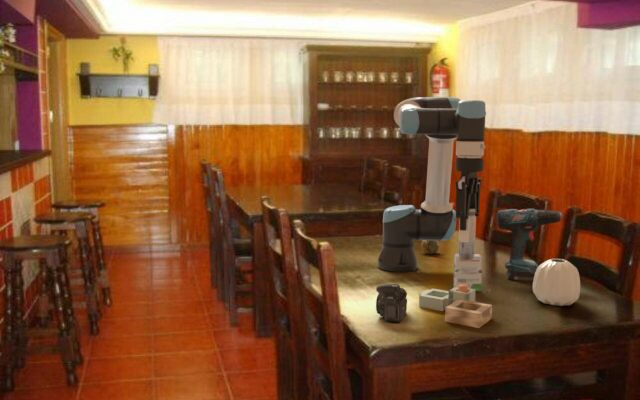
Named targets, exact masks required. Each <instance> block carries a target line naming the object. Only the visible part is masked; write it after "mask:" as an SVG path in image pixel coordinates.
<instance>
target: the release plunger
mask: <svg viewBox="0 0 640 400" xmlns="http://www.w3.org/2000/svg"><path fill="white" fill-rule="evenodd" d="M458 291H460V292H466V293H467V292H468V285H464V284H460V285H458Z"/></svg>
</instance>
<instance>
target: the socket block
mask: <svg viewBox="0 0 640 400" xmlns="http://www.w3.org/2000/svg"><path fill="white" fill-rule="evenodd" d="M476 292H477V291H476V289H470V288H468V292H467V293H466V292H460V291H458V286H456V287H453V288H451V289H449V290H443V289H437V288H431V289H425V290H424V291H421V292H420V293H418V296H419V297H418V298H419V299H418V306H419V308H422V309H423V308H424V309H428V310H429V309H430V310H434V311H441V312H443V311H444V312H445V307H447V306H449V305H450V304H452V303H453V302H455V301H457V300H458V299H461V300H467V301H472V302H476Z"/></svg>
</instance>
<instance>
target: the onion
mask: <svg viewBox="0 0 640 400" xmlns="http://www.w3.org/2000/svg"><path fill="white" fill-rule="evenodd" d="M420 247H421V249H422V251H423V252H424V253H426V254H430V255H434V254H436V253H437V252H439V250H440V244H439V241H430V240H421V245H420Z"/></svg>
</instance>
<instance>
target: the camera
mask: <svg viewBox="0 0 640 400" xmlns="http://www.w3.org/2000/svg"><path fill="white" fill-rule="evenodd" d="M375 290H376V292H377V293H378V294H377V297H376V300H375V301H376V302H375V309H376V313H377V314H378V315H380V317H382V318H383V319H384V321H385V322H391V323H400V322H401V321H402V320H403V319H404V318H405V316H406V315H407V309H408V308H407V306H408V299H407V296H408V292H407V290H406V289H405V288H403V287H401V286H400V284H399V283H390V284H389V283H388V284H387V283H386V284H381V285H378V286H376V289H375Z"/></svg>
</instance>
